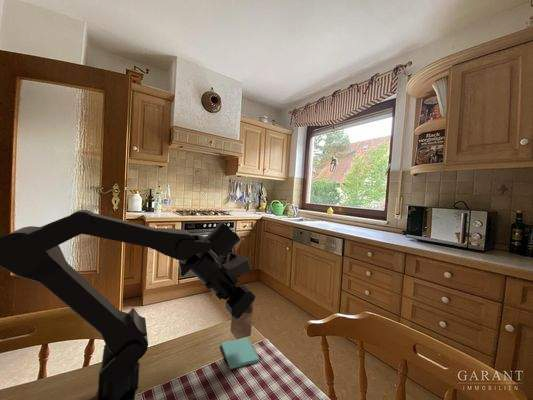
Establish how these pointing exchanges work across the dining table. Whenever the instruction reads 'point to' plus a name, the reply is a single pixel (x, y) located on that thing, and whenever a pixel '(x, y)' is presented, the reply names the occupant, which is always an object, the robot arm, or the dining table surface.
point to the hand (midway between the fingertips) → (247, 307)
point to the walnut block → (242, 325)
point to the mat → (239, 353)
